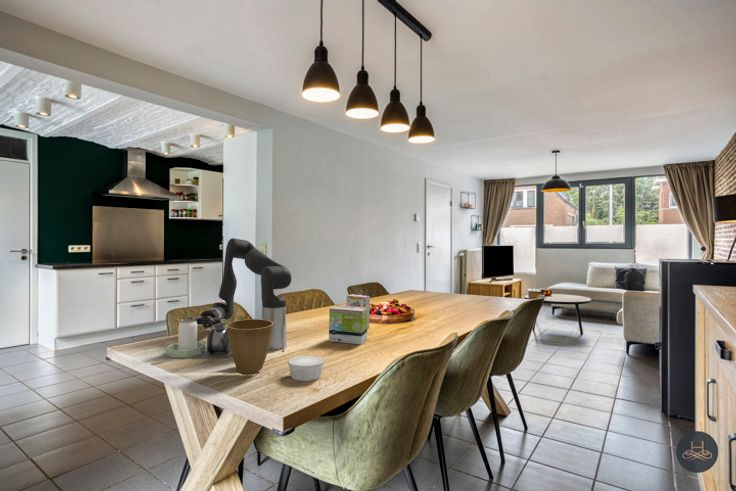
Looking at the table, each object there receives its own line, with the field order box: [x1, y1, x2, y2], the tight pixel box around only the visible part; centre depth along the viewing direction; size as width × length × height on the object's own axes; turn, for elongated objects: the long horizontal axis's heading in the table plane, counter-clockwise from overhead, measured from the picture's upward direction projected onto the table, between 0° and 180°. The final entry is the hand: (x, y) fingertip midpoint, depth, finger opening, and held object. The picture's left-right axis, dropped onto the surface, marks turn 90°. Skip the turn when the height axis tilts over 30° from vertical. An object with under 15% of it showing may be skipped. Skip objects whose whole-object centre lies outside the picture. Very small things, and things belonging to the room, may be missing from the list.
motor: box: [206, 322, 231, 353], centre depth 150 cm, size 7×9×11 cm
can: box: [177, 318, 198, 350], centre depth 149 cm, size 6×6×12 cm
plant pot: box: [226, 318, 273, 376], centre depth 132 cm, size 15×15×16 cm
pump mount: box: [158, 340, 232, 359], centre depth 149 cm, size 24×14×4 cm, turn 93°
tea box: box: [328, 304, 368, 346], centre depth 174 cm, size 15×10×15 cm, turn 76°
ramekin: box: [287, 355, 324, 382], centre depth 128 cm, size 11×11×5 cm
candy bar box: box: [346, 293, 371, 330], centre depth 201 cm, size 11×5×16 cm, turn 58°
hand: (197, 325), depth 160 cm, fingers open, 8 cm apart
